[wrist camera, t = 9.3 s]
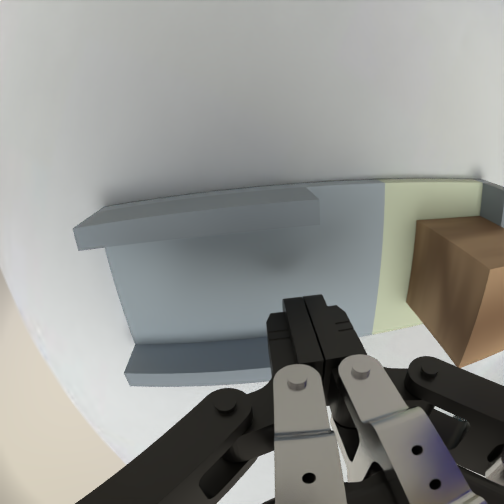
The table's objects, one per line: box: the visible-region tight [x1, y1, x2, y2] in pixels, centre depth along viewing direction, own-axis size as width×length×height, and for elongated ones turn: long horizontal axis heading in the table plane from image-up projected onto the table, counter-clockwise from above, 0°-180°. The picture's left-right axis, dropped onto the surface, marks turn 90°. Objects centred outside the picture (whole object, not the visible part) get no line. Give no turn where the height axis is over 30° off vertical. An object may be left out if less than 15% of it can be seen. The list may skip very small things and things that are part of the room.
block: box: [406, 216, 504, 368], centre depth 12 cm, size 5×5×6 cm
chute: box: [73, 179, 504, 387], centre depth 15 cm, size 9×22×4 cm, turn 95°
